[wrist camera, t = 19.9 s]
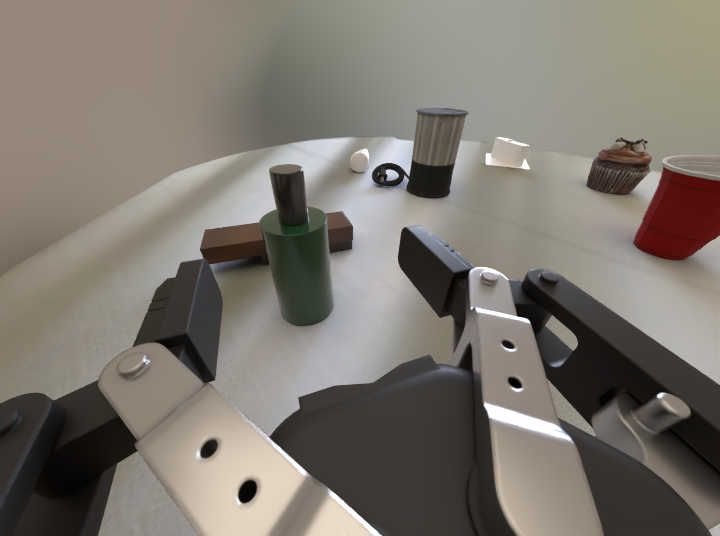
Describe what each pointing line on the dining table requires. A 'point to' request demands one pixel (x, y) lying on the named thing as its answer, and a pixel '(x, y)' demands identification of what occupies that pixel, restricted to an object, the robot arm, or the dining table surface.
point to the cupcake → (620, 167)
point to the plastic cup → (683, 208)
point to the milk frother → (430, 153)
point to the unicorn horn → (360, 161)
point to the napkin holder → (508, 154)
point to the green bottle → (297, 249)
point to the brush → (250, 241)
